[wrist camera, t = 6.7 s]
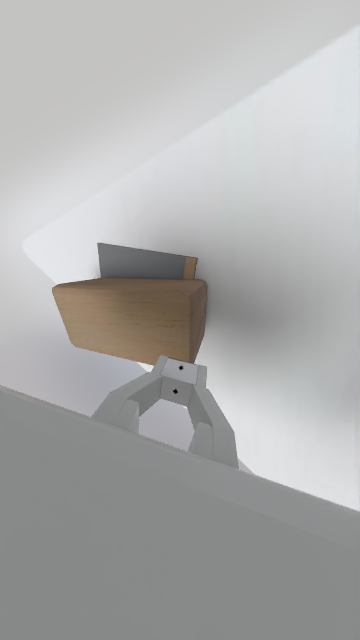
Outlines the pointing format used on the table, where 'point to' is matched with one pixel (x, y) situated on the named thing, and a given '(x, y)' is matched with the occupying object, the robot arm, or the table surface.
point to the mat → (143, 264)
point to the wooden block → (135, 317)
